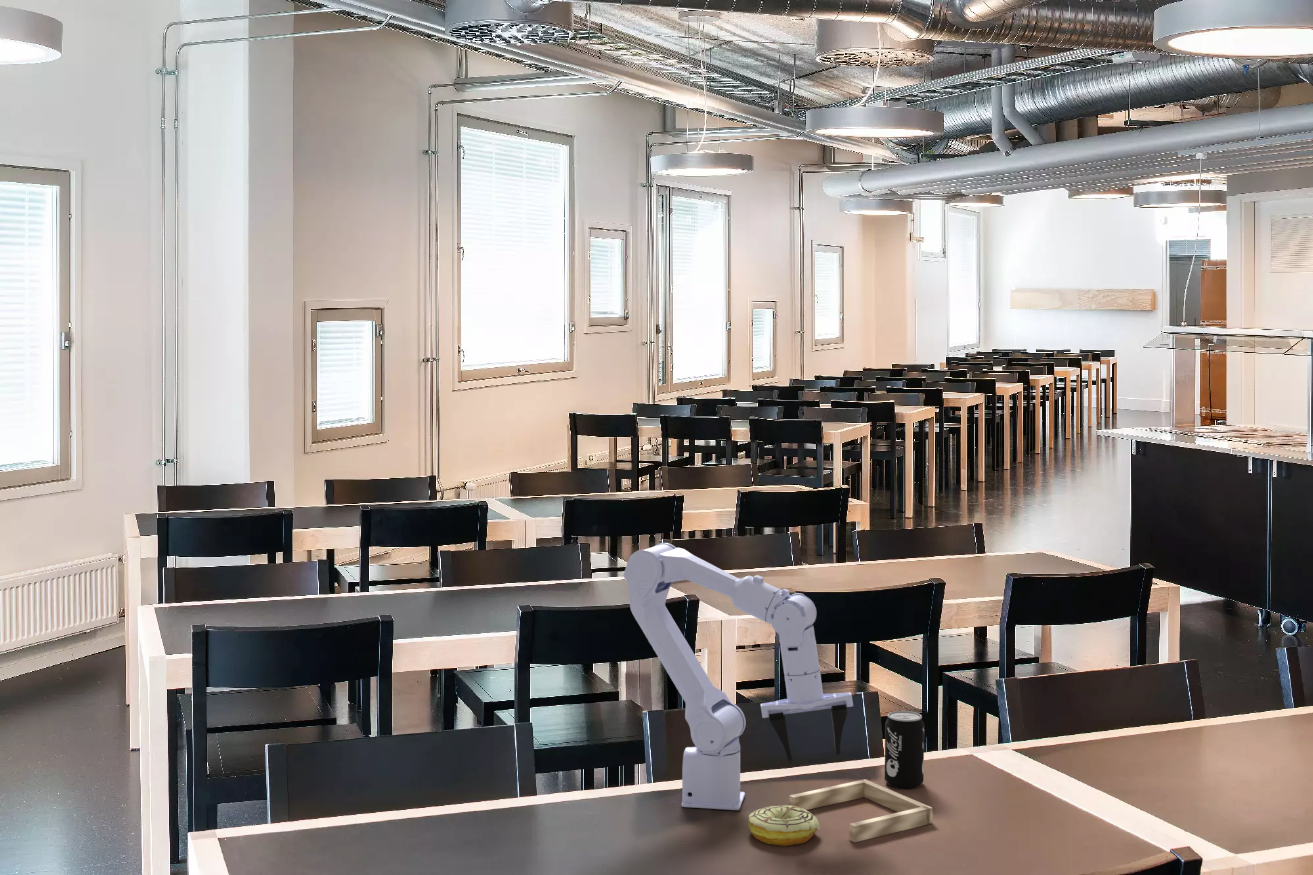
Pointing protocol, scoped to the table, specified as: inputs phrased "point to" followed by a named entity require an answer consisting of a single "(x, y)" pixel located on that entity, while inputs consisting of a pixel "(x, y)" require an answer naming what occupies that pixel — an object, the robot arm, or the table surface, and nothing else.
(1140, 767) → the table surface
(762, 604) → the robot arm
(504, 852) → the table surface
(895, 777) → the beverage can
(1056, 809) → the table surface
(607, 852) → the table surface
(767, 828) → the decorated donut
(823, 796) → the u-shaped wooden bracket
